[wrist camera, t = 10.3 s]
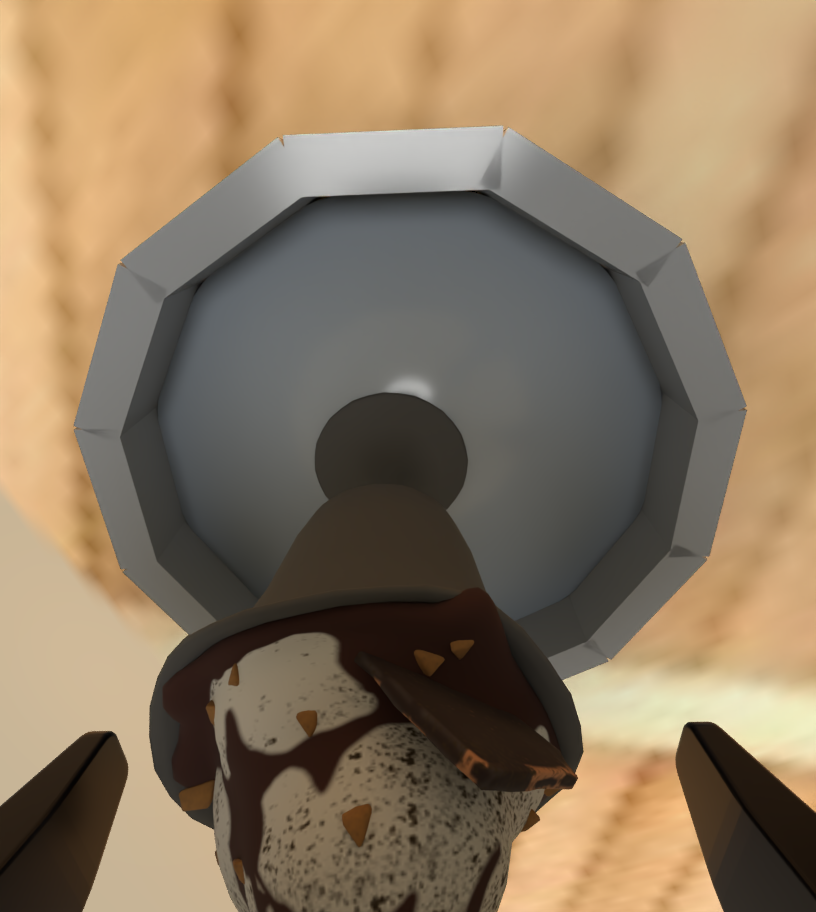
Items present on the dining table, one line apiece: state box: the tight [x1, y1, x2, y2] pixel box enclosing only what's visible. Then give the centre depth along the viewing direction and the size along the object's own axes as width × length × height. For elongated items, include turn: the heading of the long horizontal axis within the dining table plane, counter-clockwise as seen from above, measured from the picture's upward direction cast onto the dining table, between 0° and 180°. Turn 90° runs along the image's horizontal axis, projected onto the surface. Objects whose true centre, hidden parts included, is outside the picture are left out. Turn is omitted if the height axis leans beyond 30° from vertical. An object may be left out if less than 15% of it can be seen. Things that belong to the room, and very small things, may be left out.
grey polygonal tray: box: [74, 126, 747, 680], centre depth 17 cm, size 18×18×3 cm
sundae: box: [149, 392, 583, 912], centre depth 11 cm, size 7×7×15 cm
